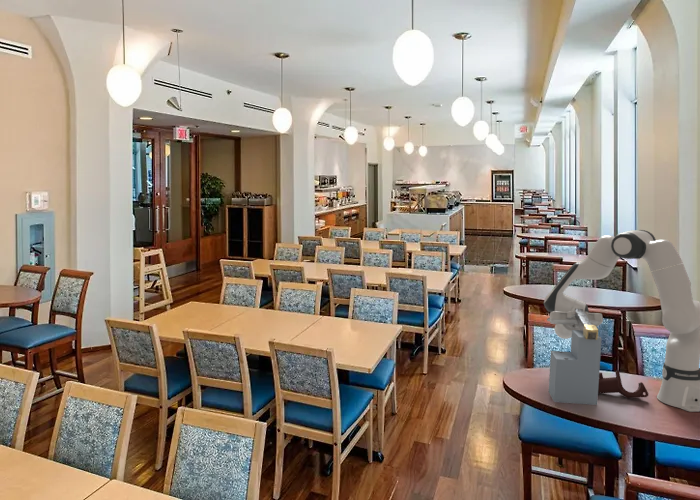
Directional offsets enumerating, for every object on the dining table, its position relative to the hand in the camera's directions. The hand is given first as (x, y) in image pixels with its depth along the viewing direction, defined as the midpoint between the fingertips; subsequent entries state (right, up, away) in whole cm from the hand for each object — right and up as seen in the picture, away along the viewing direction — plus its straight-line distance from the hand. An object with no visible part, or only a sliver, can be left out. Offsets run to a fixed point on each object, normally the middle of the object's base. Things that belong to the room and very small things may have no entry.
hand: (580, 313), depth 205 cm
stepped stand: (-6, -33, -5) cm, 34 cm away
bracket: (+14, -33, -3) cm, 36 cm away
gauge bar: (-1, -5, -6) cm, 8 cm away
